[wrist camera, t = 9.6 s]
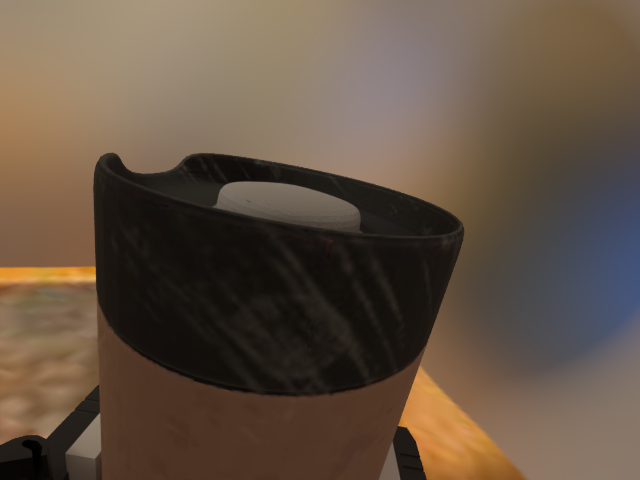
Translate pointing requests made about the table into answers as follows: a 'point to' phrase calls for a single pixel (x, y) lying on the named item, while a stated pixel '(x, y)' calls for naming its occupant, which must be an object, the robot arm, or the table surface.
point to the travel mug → (259, 318)
